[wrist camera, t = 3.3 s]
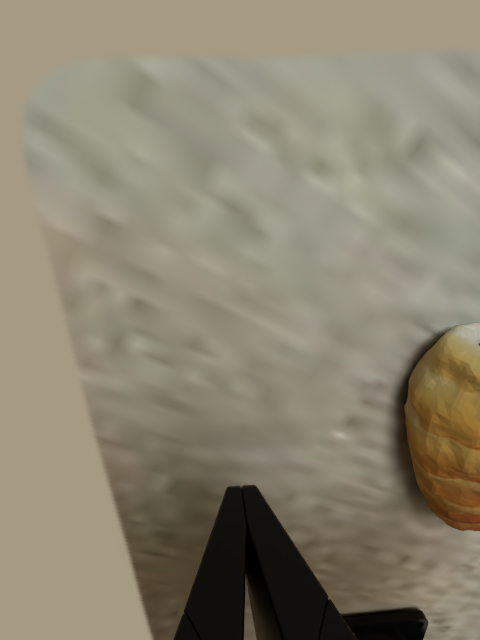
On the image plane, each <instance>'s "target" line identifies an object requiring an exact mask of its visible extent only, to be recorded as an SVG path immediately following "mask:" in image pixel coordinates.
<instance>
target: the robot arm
mask: <svg viewBox="0 0 480 640" xmlns="http://www.w3.org/2000/svg"><path fill="white" fill-rule="evenodd" d="M245 575H246V580H247V586H248V592H249V598H250V603H251V609H252V615H253V620H254V626H255V632H256V638H257V640H423V638H424V635H425V632H426V629H427V626H428V620H427V619H426V617H425V615H424V613H423V612H422V611H420V610H414V611H404V612H395V613H385V614H375V615H366V616H356V617H347V618H342V616H341V615H340V613H339V612H338V610H337V608H336V607H335V605H334V604H333V602H332V601H331V600H330V599H328V595H327V593H326V592H325V590H324V589H323V587H322V586H321V584H320V583H319V581H318V580H317V578H316V577H315V575H314V574H313V572H312V571H311V569H310V567H309V566H308V564H307V563H306V561H305V560H304V558H303V557H302V555H301V554H300V552H299V551H298V549H297V548H296V546H295V545H294V543H293V541H292V540H291V538H290V537H289V535H288V534H287V532H286V531H285V529H284V528H283V526H282V525H281V523H280V522H279V520H278V519H277V517H276V515H275V514H274V512H273V511H272V509H271V508H270V506H269V505H268V503H267V502H266V500H265V499H264V497H263V496H262V494H261V493H260V491H259V489H258V488H257V487H256V486H255V485H244V486H242V488H241V487H240V486H229V487H227V489H226V491H225V494H224V497H223V500H222V503H221V506H220V509H219V512H218V514H217V517H216V520H215V523H214V526H213V529H212V532H211V534H210V537H209V540H208V543H207V546H206V549H205V552H204V555H203V557H202V560H201V563H200V566H199V569H198V572H197V575H196V578H195V580H194V583H193V586H192V589H191V592H190V595H189V598H188V600H187V603H186V606H185V609H184V614H183V615H182V617H181V620H180V623H179V626H178V629H177V631H176V634H175V637H174V639H173V640H244V611H245Z"/></svg>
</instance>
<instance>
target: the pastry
mask: <svg viewBox="0 0 480 640" xmlns="http://www.w3.org/2000/svg"><path fill="white" fill-rule="evenodd" d="M404 410H405V416H406V419H405V425H406V429H407V440H408V444H409V449H410V454H411V460H412V464H413V469H414V473H415V477H416V481H417V484H418V487H419V489H420V490H421V492H422V493H423V495H424V496H425V498H426V499H427V501H428V503H429V505H430V507H431V509H432V511H433V512H434V513H435V514H436V515H437V516H438V517H439V518H441V519H442V520H443V521H444V522H446V523H447V524H448V525H449V526H451V527H453V528H455V529H458V530H462V531H465V530H473V531H480V323H472V324H466V325H458V326H456V327H454V328H452V329H450V330H449V331H447V332H446V333H445V334H444V335H443V336H442V337H441V338H440V339H439V340H438V341H437V342H436V343H435V345H434V346H433V347H432V348H431V349H429V350H428V351H427V352H426V353H425V354H424V355H423V356H422V357H421V359H420V360H419V362H418V363H417V365H416V367H415V368H414V370H413V372H412V374H411V376H410V378H409V389H408V398H407V402H406V404H404Z"/></svg>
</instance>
